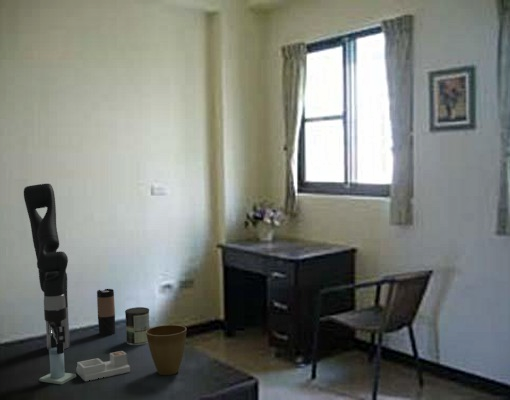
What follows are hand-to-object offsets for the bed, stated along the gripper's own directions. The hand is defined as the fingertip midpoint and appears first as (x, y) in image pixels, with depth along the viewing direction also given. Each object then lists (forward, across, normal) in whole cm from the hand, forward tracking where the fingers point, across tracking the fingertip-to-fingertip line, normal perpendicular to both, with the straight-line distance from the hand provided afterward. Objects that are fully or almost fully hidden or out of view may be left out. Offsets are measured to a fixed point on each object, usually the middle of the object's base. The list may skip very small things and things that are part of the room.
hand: (57, 350), depth 225 cm
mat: (+10, 0, 0) cm, 11 cm away
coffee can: (+11, -26, +41) cm, 49 cm away
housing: (+11, +3, +16) cm, 19 cm away
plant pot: (+11, +17, +36) cm, 41 cm away
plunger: (+8, +3, +22) cm, 23 cm away
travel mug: (+12, -47, +34) cm, 59 cm away
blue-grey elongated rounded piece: (+10, 0, 0) cm, 10 cm away
